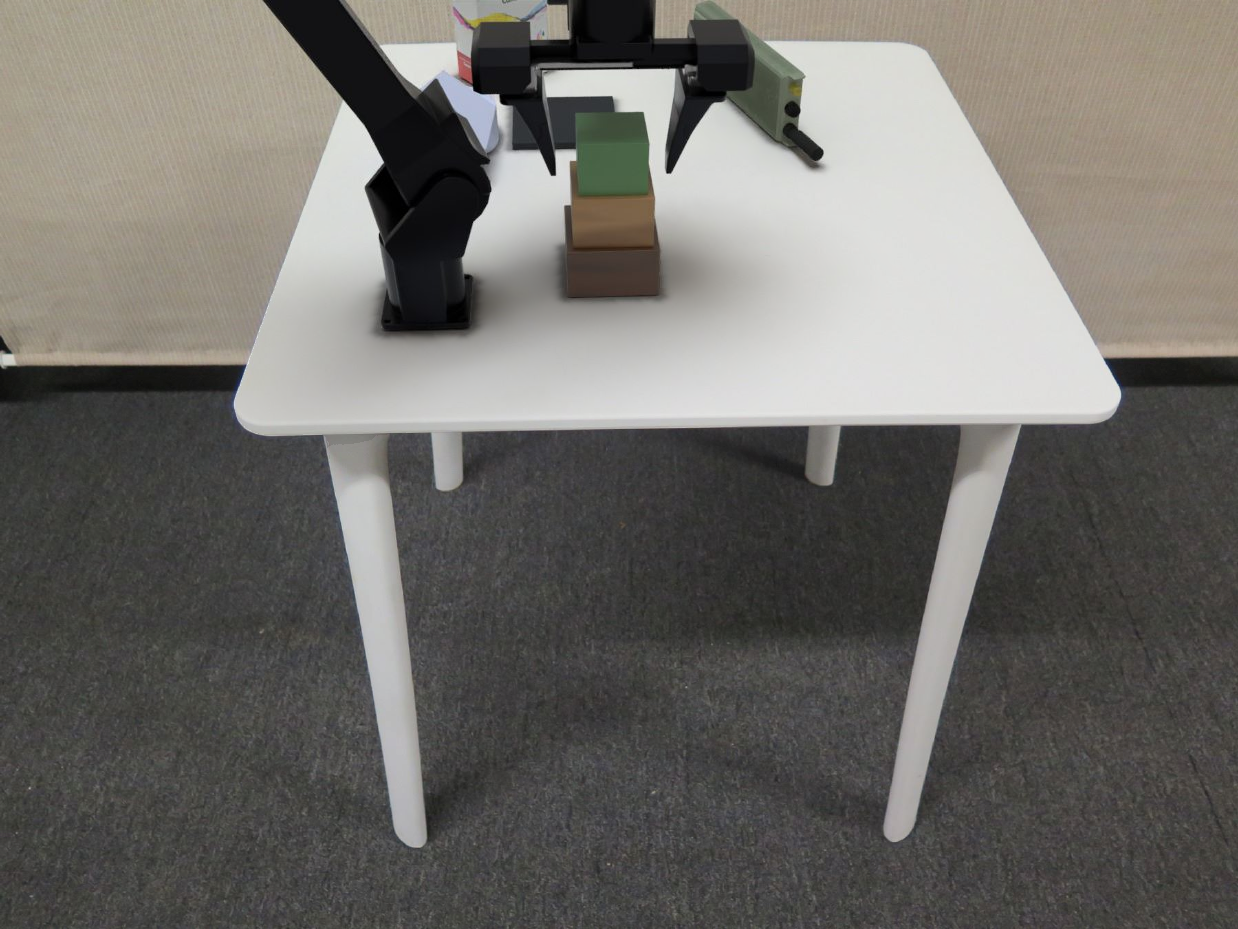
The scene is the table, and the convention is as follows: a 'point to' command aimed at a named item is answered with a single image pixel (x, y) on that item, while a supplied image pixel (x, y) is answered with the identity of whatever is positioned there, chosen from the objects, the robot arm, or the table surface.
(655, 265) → the walnut block
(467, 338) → the table surface
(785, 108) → the handheld radio
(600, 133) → the green block
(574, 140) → the mat
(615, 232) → the oak block
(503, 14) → the ink cartridge box
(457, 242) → the robot arm
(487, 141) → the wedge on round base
